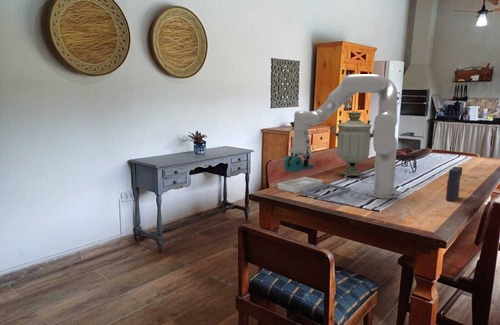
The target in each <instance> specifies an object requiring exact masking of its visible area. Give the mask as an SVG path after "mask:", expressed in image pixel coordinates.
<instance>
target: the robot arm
mask: <svg viewBox="0 0 500 325" xmlns="http://www.w3.org/2000/svg"><path fill="white" fill-rule="evenodd" d="M357 93H358V94H359V93H363V94H369V93H370V94H378V112H377V115H376V116H375V118H374V122H373V129H374V136H373V137H372V138H373V139H372V140H373V142H372V144H373V145H372V146H373V149H374V151H375V156H374V158H375V160H374V177H373V178H374V179H373V190H372V191H370V196H371V197H373V198H377V199H384V200H385V199H386V200H388V199H395V198H397V197H398V196H399V197H401V196H402V191H400V190H397V187H395V177H396V163H397V152H398V151H397V149H398V140H397V137H396V127H397V124H398V90H397V87H396V85H395V83H394V82H393V81H392V80H391V79H390V78H389V77H386V76H384V75H381V74H377V73H376V74H375V73H371V74H369V73H367V74H347V75H345V76H344V77H343V78H342V80H341V83H340V84H339V85H337V87H336V88H334V90H332V91H330V92H329V94H328V96H327V99H326V101H325V102H324V103H323V104H322V105H320V106H319V108H318V109H316V110H312V111H311V110H310V111H306V110H297V111H295V112H294V115H293V116H294V117H293V119H294V120H293V125H294V126H293V136H292V143H291V148H290V149H289V151H288V152H289V153H290V156H294V157H295V156H296V157H299V156H303V163H304V167H308V163H309V160H310V159H311V157H312V156H313V155H314V153H313V152H312V150H311V140H310V136H309V135H310V132H309V126H317V125H320V124H323V123H324V122H325V121H326V120H328V119H329V118H330V117H331V116H332V115H333V114H334V113H336V111H337V110H339V109H340V107H342V106H343V105H344V104H345V103H346V102H347V101H349V100H350V99H351V97H353V96H354V95H356V94H357ZM296 163H297V162H296Z"/></svg>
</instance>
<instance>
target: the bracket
mask: <svg viewBox="0 0 500 325" xmlns="http://www.w3.org/2000/svg"><path fill="white" fill-rule="evenodd" d="M296 162H297V163H296ZM283 163H284V167H283V168H284V171H285V172H290V173H297V172H301V171H307V170H311V169H314V163H313V162H308V167H304V162H303V160H302V158H301V157H300V156H297V157H296V156H295V157H294V156H291V155H287V156H286V157H285V158H284V162H283Z"/></svg>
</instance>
